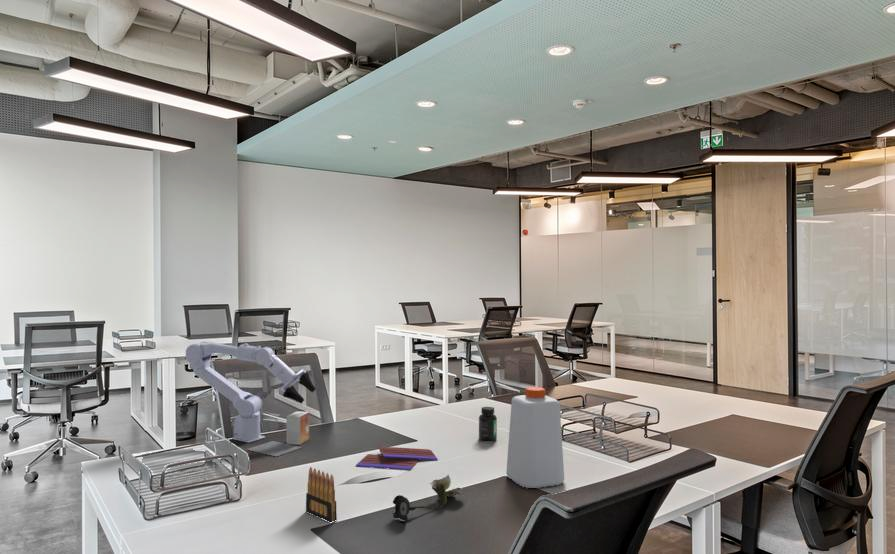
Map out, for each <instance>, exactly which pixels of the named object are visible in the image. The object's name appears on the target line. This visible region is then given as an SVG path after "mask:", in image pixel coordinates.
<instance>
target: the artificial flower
mask: <svg viewBox="0 0 895 554" xmlns="http://www.w3.org/2000/svg"><path fill="white" fill-rule="evenodd" d="M451 481H452V479H451V477H450V475H449V474H447V475H446V476H445V477H443V478H439V479H433V480H432V482H429V484H430V485H431V489H432V490H433V491H434V493H436V495H437V498H438V501H439V505H440V506H443V507H444V506H445V505H446V504H447V501H448V498H447V496H448V497H455V496H456V495H462V494H464V493H465V488H461V487H456V488H452V489H449V488H450V487H451ZM448 489H449V490H448ZM410 503H411V502H410V500H409V499H408V498H407V497H406V496H403V495H401V494H398V495H396V496H395V497H394V498H393V501H392V504H393V505H394V510H395V511H394V512H393V513H391V514H392V518H393V519H394V518H400V519H402V520H405V521H403V522H402V523H405V522H407V521H408V520H409V518H408V515H409V513H410V511H415V510H416V509H425V508H426V509H430V510H431V509H432V510H436V509H435V508H437V507H438V506H437V507H436V506H429V505H421V506H420V505H418V506H411V504H410ZM440 506H439V507H440Z"/></svg>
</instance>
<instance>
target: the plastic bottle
mask: <svg viewBox="0 0 895 554" xmlns="http://www.w3.org/2000/svg"><path fill="white" fill-rule="evenodd" d="M509 418H510V419H509V420H510V421H509V433H508V445H507V446H508V447H507V458H506V459H507V460H506V461H507V462H506V476H507V478H509V479H510V480H511V479H512V480H511V481H513V482H514V483H515V484H517V485H518V484H519V485H518V486H519V487H521V486H522V488H524V487H526V488H525V489H528V488H537V489H541V488H540V487H544V488H547V487H546V486H551V487H553V486H552V485H557V486H559V485H558V484H560V485H562V484H563V483H564V481H565V466H564V452H563V451H564V450H563V435H562V423H561V405H560V402H559V401H558V400H557V399H556V398H554V397H551V396H548V395H546V389H545V388H543V387H540V386H539V387H538V386H529V387H528V386H527V387H526V388H525V394H523V395H521V394H520V395H515V396H513V397H512V398H511V404H510V417H509ZM561 483H562V484H561Z"/></svg>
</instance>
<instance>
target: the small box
mask: <svg viewBox="0 0 895 554" xmlns="http://www.w3.org/2000/svg"><path fill="white" fill-rule="evenodd" d="M308 440H310V411H300V410H299V411H294V412H292V413H291V414H288V415H287V416H286V444H289V445H294V446H301V445H302V444H303V443H305V442H307V441H308Z"/></svg>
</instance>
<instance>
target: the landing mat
mask: <svg viewBox="0 0 895 554" xmlns="http://www.w3.org/2000/svg"><path fill="white" fill-rule="evenodd" d="M300 449H303V447H302V446H299V445H293V444H287V443H283V442H280V441H279V442H278V441H275V440H272V441H269V442H265V443H262V444H259V445H255V446H253V447H249V448H246V451H248V450H249V451H248V452H252V451H253V452H254V453H257V454H262V455H265V454H267V455H266V456H269V455H271V456H270V457H274V456H275V457H274V458H278V457H280V455H281V456H283V454H284V455H286V453H287V454H290V453H292V452H295V451H297V450H300ZM277 456H278V457H277Z"/></svg>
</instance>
